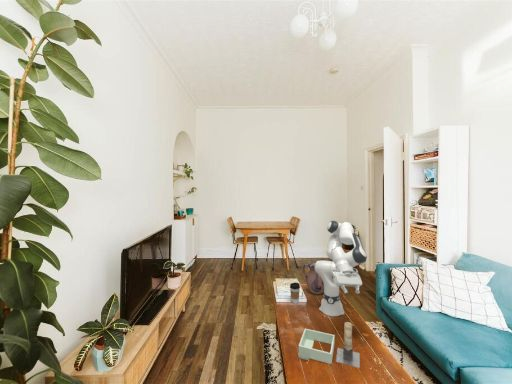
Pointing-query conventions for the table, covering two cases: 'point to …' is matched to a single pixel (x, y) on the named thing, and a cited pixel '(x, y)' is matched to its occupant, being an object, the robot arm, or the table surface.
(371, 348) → the table surface
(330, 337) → the bin
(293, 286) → the coffee cup
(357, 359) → the stud plate
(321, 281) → the ceramic pitcher
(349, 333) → the strut
